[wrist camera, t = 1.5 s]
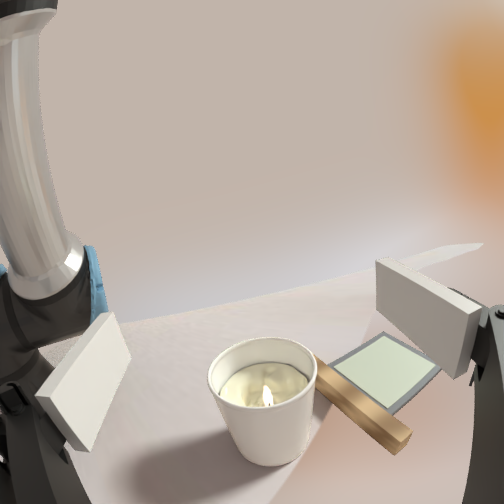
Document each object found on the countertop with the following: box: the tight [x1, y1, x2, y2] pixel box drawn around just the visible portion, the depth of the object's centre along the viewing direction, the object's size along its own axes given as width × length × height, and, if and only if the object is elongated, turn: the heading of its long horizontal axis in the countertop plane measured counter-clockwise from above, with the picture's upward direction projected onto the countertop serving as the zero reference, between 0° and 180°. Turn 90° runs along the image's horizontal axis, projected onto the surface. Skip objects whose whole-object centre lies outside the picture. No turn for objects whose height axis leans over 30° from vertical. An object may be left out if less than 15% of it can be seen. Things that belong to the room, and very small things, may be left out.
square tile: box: [327, 331, 442, 416], centre depth 34 cm, size 13×13×1 cm
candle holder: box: [207, 337, 317, 466], centre depth 25 cm, size 10×10×12 cm
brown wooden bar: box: [312, 353, 413, 455], centre depth 29 cm, size 20×2×3 cm, turn 26°
